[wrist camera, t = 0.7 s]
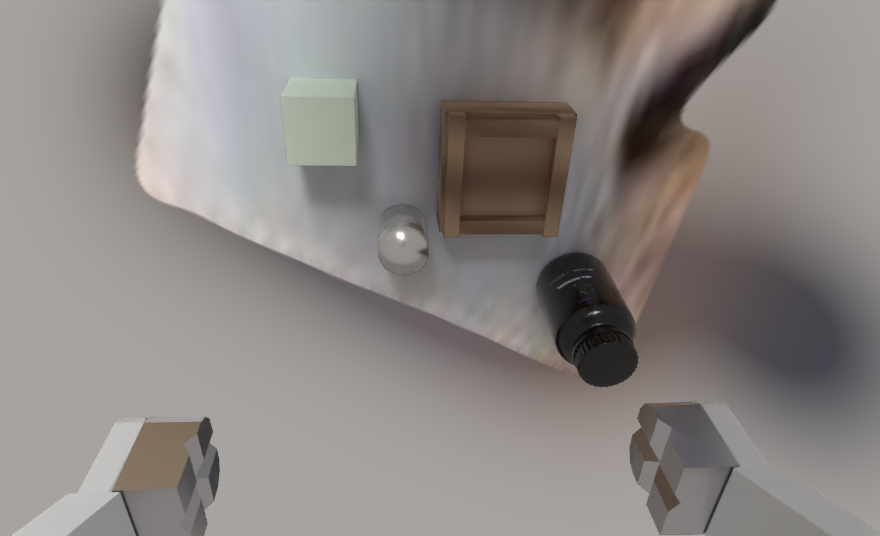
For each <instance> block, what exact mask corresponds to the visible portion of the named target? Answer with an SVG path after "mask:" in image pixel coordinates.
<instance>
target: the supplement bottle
mask: <svg viewBox="0 0 880 536" xmlns="http://www.w3.org/2000/svg"><path fill="white" fill-rule="evenodd" d="M537 292H538V296H539V299H540V302H541V305H542V308H543V311H544V314H545V317H546V320H547V323H548V326H549V329H550V331H551V334H552V337H553V340H554V343H555V346H556V348H557V350H558V352H559V354H560V355H561V356H562V357H563V358H564V359H565V360H566V361H568V362H569V363H571V364H573V365H575V366H576V368H577V370H578V373H579V375H580V376H581V378H582V380H584V381H585V382H586V383H589V384H590V385H593V386H595V387H597V386H598V387H608V386H613V385H616V384H619V383H621V382H623V381H624V380H626V379H628V378H629V376H631V375H632V373H633V372H634V371H635V369H636V368H637V364H638V355H637V351H636V349H635V347H634V344H633V342H634V339H635V333H636V326H635V321H634V319H633V316H632V314H631V312H630V311H629V309H628V307H627V305H626V303H625V302H624V300H623V298H622V296H621V294H620V292H619V291H618V289H617V287H616V285H615V283H614V282H613V280H612V278H611V276H610V274H609V273H608V271H607V269H606V268H605V266H604V265H603V263H602V262H601V261H600V260H598V259H597V258H595V257H594V256H591V255H589V254H585V253H570V254H566V255H562V256H560V257H558V258H556V259H554V260H553V261H551V262H550V263H549V264H548V265H547V266H546V267H545V268H544V269H543V271H542V272H541V274H540V276H539V279H538V283H537Z"/></svg>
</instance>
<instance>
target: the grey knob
mask: <svg viewBox="0 0 880 536" xmlns="http://www.w3.org/2000/svg"><path fill="white" fill-rule="evenodd" d="M427 259H428V245H427V236H426V228H425V220H424V217H423V215H422V214H421V212H420V211H419V210H417V209H416V208H414V207H412V206H410V205H405V204H400V205H395V206H392V207H390V208H388V209H387V210H386V211H385V212H384V213H383V214H382V216H381V218H380V222H379V260H380V262H381V264H382V265H383V267H384V268H385V269H387V270H388V271H390V272H391V273H394V274H398V275H408V274H412V273H415V272H417V271H419V270H420V269H421V268H422V267H423V266H424V265H425V263H426V261H427Z"/></svg>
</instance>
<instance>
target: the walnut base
mask: <svg viewBox="0 0 880 536" xmlns="http://www.w3.org/2000/svg"><path fill="white" fill-rule="evenodd" d="M576 117H577V114H576V113H575V111H574V110H573V109H572V108H571V107H570V106H569V105H568V103H558V102H502V101H445V100H442V101H441V126H440V150H439V174H438V199H437V219H438V226H439V232H443V234H444V237H459V234H542V236H543V237H557V235H558V229H559V223H560V217H561V211H562V205H563V199H564V193H565V187H566V181H567V174H568V168H569V162H570V156H571V150H572V144H573V138H574V132H575V126H576V120H577V118H576Z"/></svg>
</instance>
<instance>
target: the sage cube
mask: <svg viewBox="0 0 880 536" xmlns="http://www.w3.org/2000/svg"><path fill="white" fill-rule="evenodd" d="M280 102H281V112H282V121H283V131H284V141H285V150H286V160H287V165H322V166H356V165H357V157H358V148H359V124H358V94H357V79H331V78H289V80H288V82H287V84H286V86H285V88H284V90H283V91H282V93H281V95H280Z"/></svg>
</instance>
